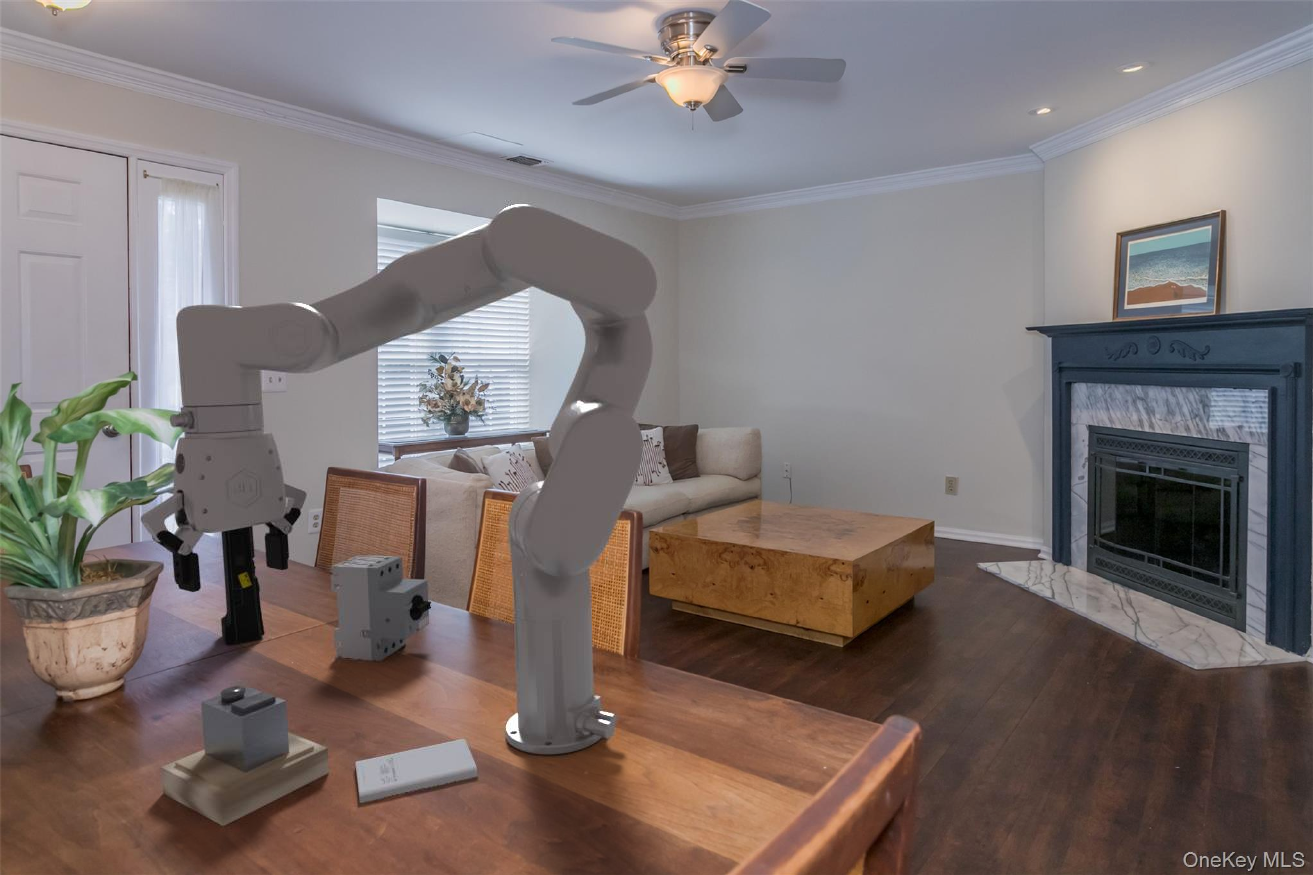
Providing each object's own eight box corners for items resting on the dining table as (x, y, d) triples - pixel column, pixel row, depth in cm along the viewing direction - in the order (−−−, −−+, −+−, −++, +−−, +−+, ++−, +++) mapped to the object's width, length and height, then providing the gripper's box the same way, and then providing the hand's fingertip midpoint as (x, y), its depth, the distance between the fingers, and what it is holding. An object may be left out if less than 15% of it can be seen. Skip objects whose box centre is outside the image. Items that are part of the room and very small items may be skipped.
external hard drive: (478, 781, 87) (359, 808, 82) (464, 749, 95) (355, 772, 90) (477, 767, 87) (359, 793, 82) (464, 736, 94) (355, 758, 89)
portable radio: (266, 640, 133) (257, 496, 131) (226, 648, 130) (216, 500, 128) (260, 628, 140) (251, 490, 138) (221, 635, 136) (212, 494, 134)
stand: (328, 772, 88) (327, 744, 88) (223, 826, 78) (220, 793, 78) (268, 747, 95) (266, 720, 94) (163, 793, 85) (160, 763, 84)
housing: (289, 752, 86) (285, 693, 86) (245, 772, 82) (240, 710, 81) (248, 735, 91) (245, 679, 90) (204, 753, 86) (200, 694, 86)
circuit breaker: (416, 663, 122) (412, 569, 120) (335, 658, 124) (330, 566, 123) (439, 646, 129) (435, 557, 128) (362, 641, 132) (357, 555, 130)
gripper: (155, 429, 74) (169, 604, 75) (318, 417, 88) (327, 564, 90) (117, 427, 78) (131, 594, 79) (279, 416, 92) (288, 557, 94)
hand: (235, 578), depth 85 cm, fingers open, 9 cm apart
